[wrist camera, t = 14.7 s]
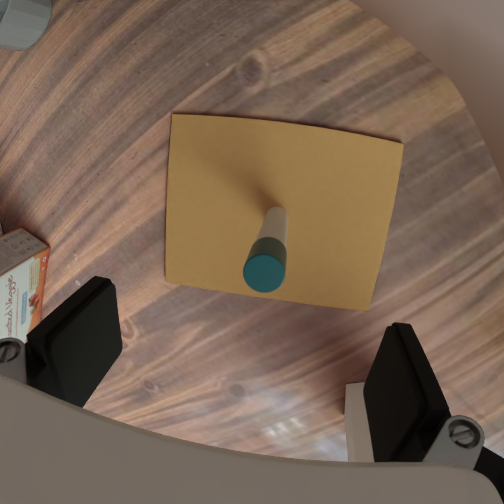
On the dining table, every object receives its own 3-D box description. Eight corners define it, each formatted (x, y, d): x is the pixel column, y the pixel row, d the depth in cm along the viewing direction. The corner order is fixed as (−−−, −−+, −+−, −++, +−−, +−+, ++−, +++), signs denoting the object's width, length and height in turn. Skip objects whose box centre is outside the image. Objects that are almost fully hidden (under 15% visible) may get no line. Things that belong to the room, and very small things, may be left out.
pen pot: (17, 4, 22) (-20, -5, 16) (58, -13, 22) (20, -28, 15) (5, 56, 25) (-35, 52, 19) (45, 43, 24) (2, 35, 18)
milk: (345, 383, 34) (360, 566, 13) (396, 376, 33) (438, 549, 12) (343, 417, 36) (351, 578, 15) (390, 411, 35) (418, 566, 14)
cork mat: (173, 114, 26) (172, 114, 26) (402, 143, 25) (404, 143, 24) (166, 280, 32) (165, 281, 32) (366, 309, 30) (367, 311, 30)
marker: (265, 203, 28) (244, 251, 16) (291, 207, 27) (288, 257, 16) (262, 228, 28) (240, 289, 17) (288, 231, 28) (282, 296, 17)
